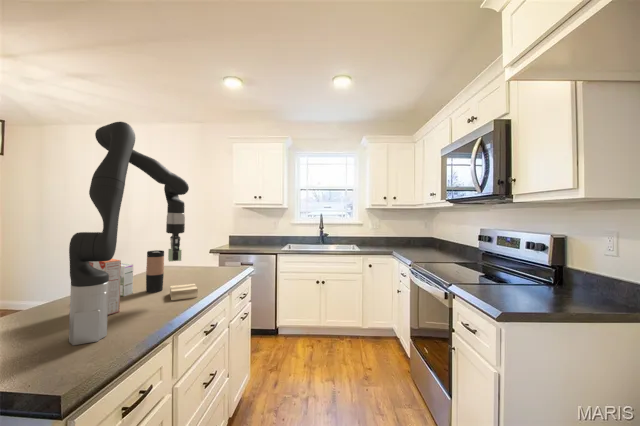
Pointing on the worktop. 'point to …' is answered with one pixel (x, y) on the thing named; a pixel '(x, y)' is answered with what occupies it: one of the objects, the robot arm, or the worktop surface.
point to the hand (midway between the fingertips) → (174, 259)
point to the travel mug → (154, 271)
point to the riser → (183, 291)
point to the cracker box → (111, 282)
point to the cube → (170, 255)
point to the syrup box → (126, 279)
